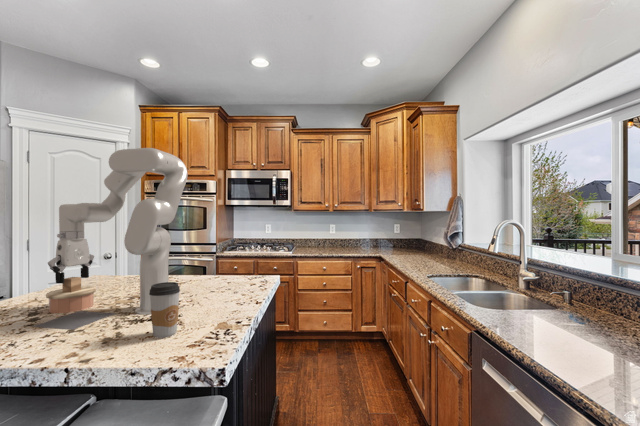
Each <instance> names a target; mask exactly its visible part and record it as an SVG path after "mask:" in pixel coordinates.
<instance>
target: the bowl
mask: <svg viewBox="0 0 640 426" xmlns="http://www.w3.org/2000/svg"><path fill="white" fill-rule="evenodd" d="M94 297H95V296H94V293H91V294H88V295H84V296H79V297H73V298H64V299H48V312H49V313H50V314H67V313H75V312H78V311H84V310H86V309H90V308H91V307H93V306H94V305H95V304H94V303H95V302H94Z"/></svg>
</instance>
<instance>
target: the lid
mask: <svg viewBox="0 0 640 426" xmlns="http://www.w3.org/2000/svg"><path fill="white" fill-rule="evenodd" d="M64 281H65V282H64V283H61V284H62V287H61V289H60V288H59V289H56V290H52V291H49V292H47V293H46V294H45V298H46V299H48V300H49V299H64V298H73V297H79V296H84V295H88V294H91V293H93V294H94V293H96V292H97V288H96V287H95V286H82V278H81V276H70V277H64Z"/></svg>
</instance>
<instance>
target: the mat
mask: <svg viewBox="0 0 640 426" xmlns="http://www.w3.org/2000/svg"><path fill="white" fill-rule="evenodd" d="M116 314H117V313H114V312H101V311H87V310H86V311H84V310H80V311H74V312H71V313H69V314H66V315H62V316H60V317H57V318H53V319H50V320H48V321H44V322H42V323H38V324H35V325H32V326H31V328H46V329H57V330H58V329H59V330H71V331H74V330H77V329H79V328H82V327H84V326H87V325H90V324H93V323H94V322H98V321H100V320H103V319H106V318H108V317H111V316H114V315H116Z"/></svg>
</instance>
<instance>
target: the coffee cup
mask: <svg viewBox="0 0 640 426" xmlns="http://www.w3.org/2000/svg"><path fill="white" fill-rule="evenodd" d="M180 288H181V287H180V285H179V282H175V281H168V282H164V283H158V284H154V285H152V286H151V289H150V293H149V295H150V301H151V314H150V315H151V316H150V318H151V325H152V326H151V327H152V336H153V337H154V338H155V337H156V339H166V338H165V337H167V338H170V337H172V335H173V336H175V335H176V334H177V330H178V321H179V307H180V306H179V303H180V292H181V289H180Z"/></svg>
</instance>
